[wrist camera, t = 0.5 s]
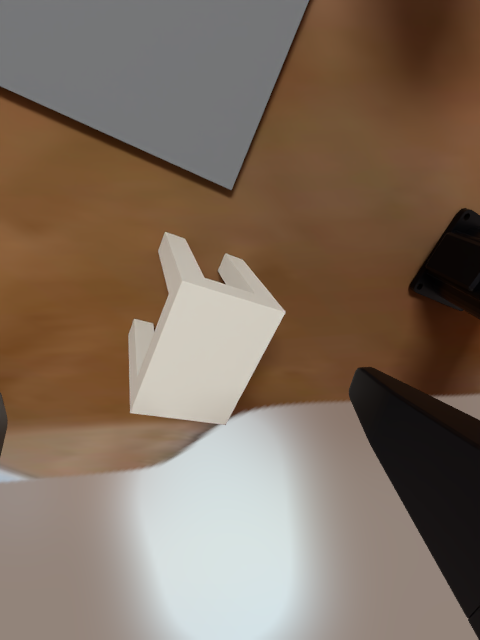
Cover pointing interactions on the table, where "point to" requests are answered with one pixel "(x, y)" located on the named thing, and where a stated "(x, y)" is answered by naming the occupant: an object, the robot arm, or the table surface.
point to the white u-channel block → (200, 339)
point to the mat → (154, 70)
